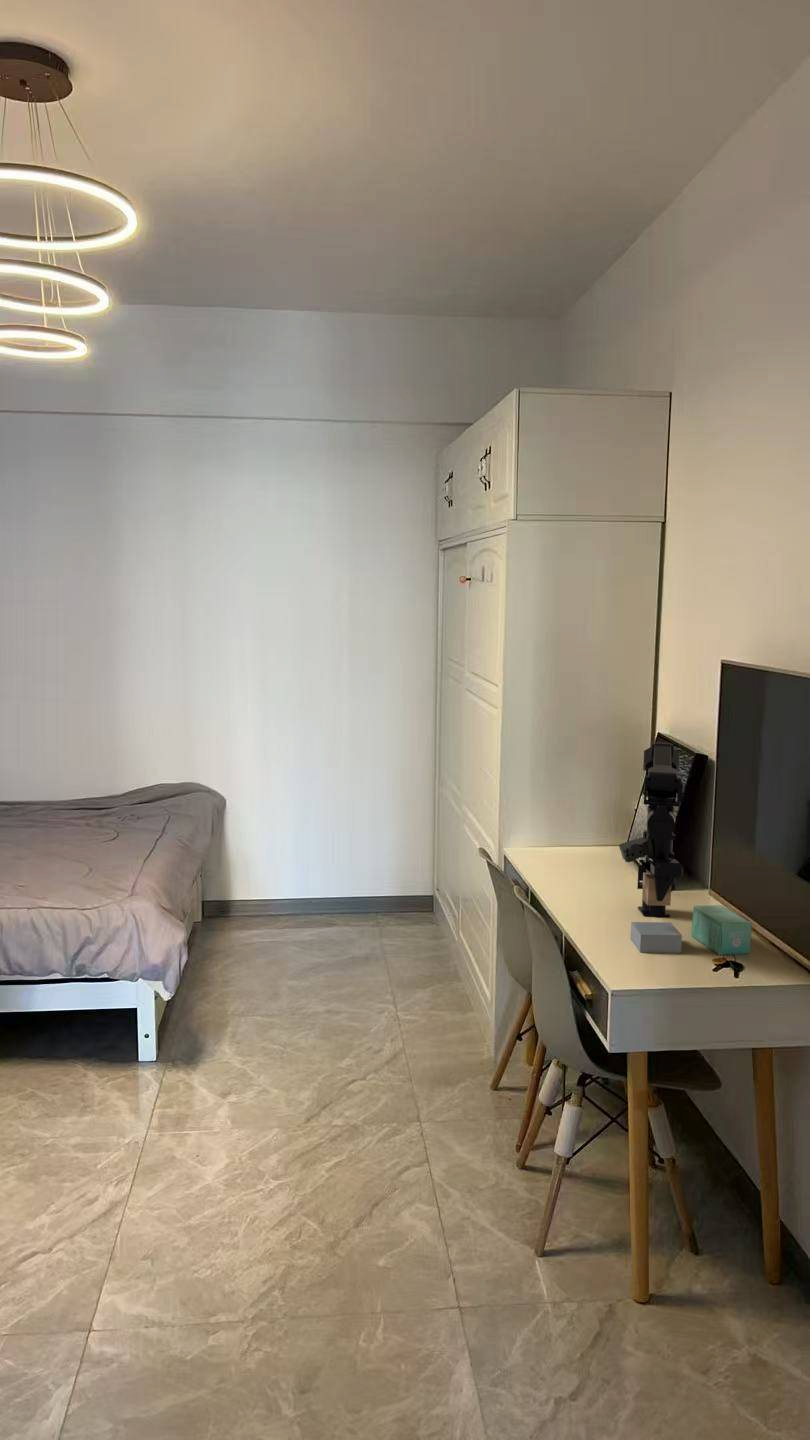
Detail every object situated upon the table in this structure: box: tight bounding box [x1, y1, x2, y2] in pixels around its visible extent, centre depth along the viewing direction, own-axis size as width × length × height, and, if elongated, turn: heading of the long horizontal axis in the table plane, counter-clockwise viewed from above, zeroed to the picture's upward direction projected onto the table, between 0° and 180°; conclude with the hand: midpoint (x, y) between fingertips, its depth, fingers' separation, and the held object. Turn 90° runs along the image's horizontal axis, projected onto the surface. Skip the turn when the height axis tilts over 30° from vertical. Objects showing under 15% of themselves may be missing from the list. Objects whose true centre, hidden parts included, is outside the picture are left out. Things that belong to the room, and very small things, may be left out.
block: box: [641, 873, 672, 906], centre depth 239 cm, size 5×5×6 cm
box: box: [690, 904, 753, 956], centre depth 241 cm, size 7×14×8 cm, turn 13°
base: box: [629, 921, 683, 954], centre depth 240 cm, size 9×9×4 cm
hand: (656, 897), depth 239 cm, fingers closed on block, 5 cm apart
